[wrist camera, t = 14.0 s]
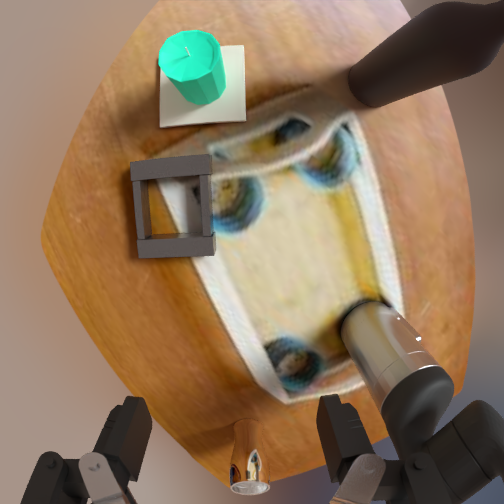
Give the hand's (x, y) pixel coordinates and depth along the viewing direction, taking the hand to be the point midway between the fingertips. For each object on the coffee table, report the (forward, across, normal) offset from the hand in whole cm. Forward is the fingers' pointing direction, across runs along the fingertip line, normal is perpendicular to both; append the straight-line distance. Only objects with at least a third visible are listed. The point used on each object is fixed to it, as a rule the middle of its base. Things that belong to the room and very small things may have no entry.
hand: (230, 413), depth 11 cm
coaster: (+28, +4, -22) cm, 36 cm away
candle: (+27, +4, -22) cm, 35 cm away
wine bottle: (+28, -19, -23) cm, 41 cm away
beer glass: (+28, 0, +37) cm, 47 cm away
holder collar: (+28, +8, -6) cm, 30 cm away
